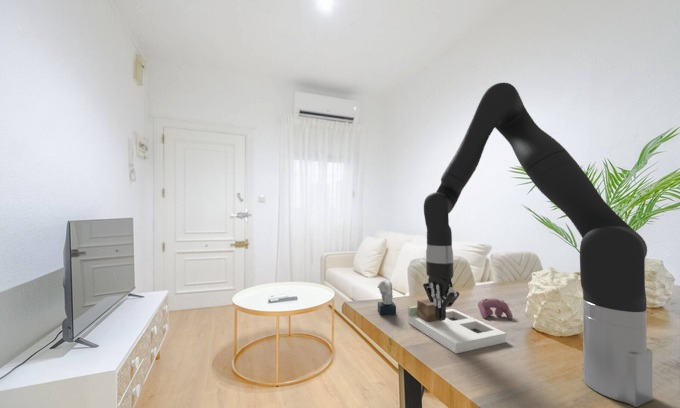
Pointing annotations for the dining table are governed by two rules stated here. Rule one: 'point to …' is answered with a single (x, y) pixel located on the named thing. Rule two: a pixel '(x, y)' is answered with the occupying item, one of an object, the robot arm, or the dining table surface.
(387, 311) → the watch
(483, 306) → the video game controller
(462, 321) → the board
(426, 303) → the walnut block
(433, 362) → the dining table surface
